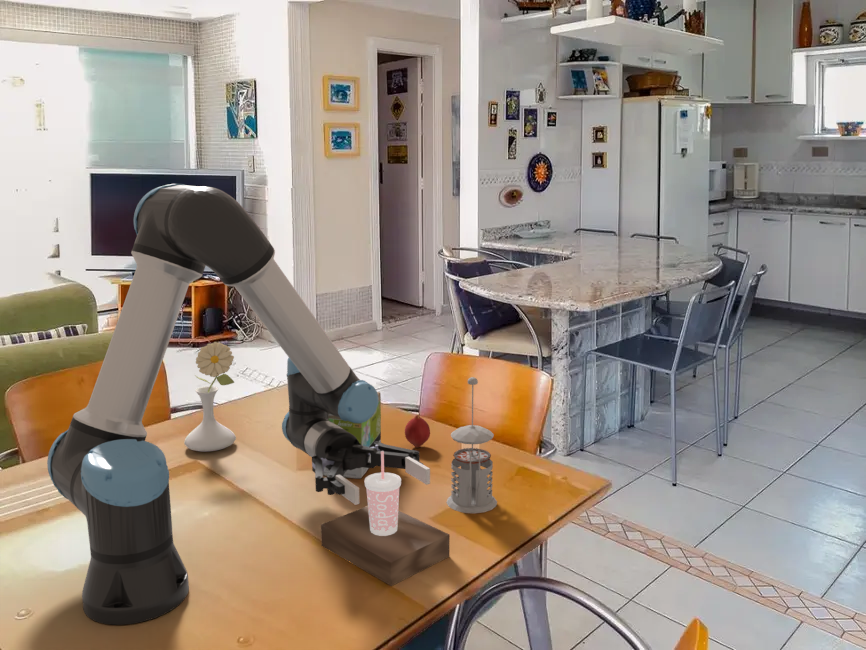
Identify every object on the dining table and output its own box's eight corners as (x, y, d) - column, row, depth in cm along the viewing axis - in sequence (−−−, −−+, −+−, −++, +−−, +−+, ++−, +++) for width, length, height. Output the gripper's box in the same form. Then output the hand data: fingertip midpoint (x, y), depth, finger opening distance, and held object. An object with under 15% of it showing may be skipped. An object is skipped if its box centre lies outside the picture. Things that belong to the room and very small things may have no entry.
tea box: (363, 480, 164) (361, 411, 160) (317, 476, 165) (314, 408, 162) (382, 453, 178) (381, 390, 175) (339, 450, 180) (337, 387, 177)
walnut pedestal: (391, 585, 124) (390, 562, 123) (321, 546, 136) (320, 524, 135) (449, 556, 132) (449, 534, 132) (379, 521, 145) (378, 501, 144)
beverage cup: (360, 535, 131) (358, 456, 128) (372, 519, 137) (370, 443, 134) (396, 540, 130) (394, 460, 127) (406, 523, 136) (405, 446, 132)
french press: (494, 490, 158) (496, 369, 153) (501, 517, 147) (503, 387, 141) (445, 491, 158) (445, 370, 152) (448, 518, 146) (448, 388, 141)
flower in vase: (174, 453, 178) (166, 345, 173) (203, 436, 189) (195, 333, 183) (225, 459, 174) (218, 349, 169) (251, 441, 185) (246, 337, 180)
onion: (400, 445, 183) (400, 412, 181) (423, 441, 185) (423, 408, 183) (410, 453, 177) (410, 419, 176) (434, 449, 180) (434, 415, 178)
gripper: (390, 451, 154) (455, 489, 137) (270, 481, 140) (325, 527, 123) (390, 414, 152) (455, 448, 135) (268, 441, 138) (323, 482, 121)
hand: (393, 486), depth 129 cm, fingers open, 13 cm apart
